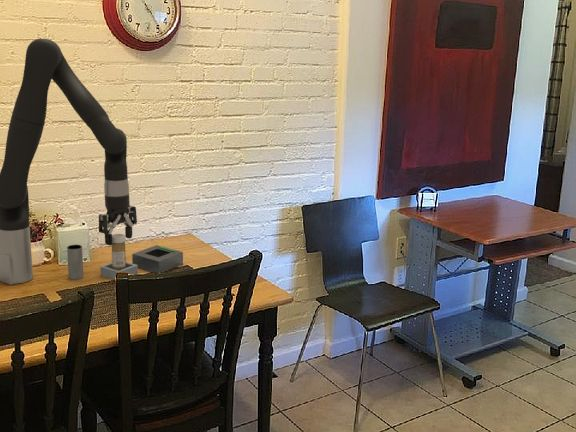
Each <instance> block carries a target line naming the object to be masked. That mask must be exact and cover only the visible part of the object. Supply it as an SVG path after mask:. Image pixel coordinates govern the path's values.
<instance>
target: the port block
mask: <svg viewBox="0 0 576 432" xmlns="http://www.w3.org/2000/svg"><path fill="white" fill-rule="evenodd" d="M131 260H132V264H136V265H138V270H143V271H146V272H150V273H153V274H156V273H159V272H163V271H166V272H169V271H171V270H173V269H176V268H177V267H180V266H182V265H184V252H183V251H180V250H177V249H173V248H170V247H165V246H161V245H158V244H156V245H153V246H150V247H148V248H145V249H142V250H140V251H137V252H134V253H131ZM170 269H171V270H170Z"/></svg>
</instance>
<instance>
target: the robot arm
mask: <svg viewBox="0 0 576 432" xmlns="http://www.w3.org/2000/svg"><path fill="white" fill-rule="evenodd" d="M25 52H26V53H25V59H24V60H25V61H24V69H23V75H22V81H21V86H20V88H19V91H18V94H17V97H16V100H15V103H14V107H13V110H12V112H11V113H12V114H11V116H10V120H9V124H8V131H7V136H6V141H5V152H4V160H3V162H2V163H3V164H2V166H1V169H0V282H2V283H3V284H4V283H5V284H7V285H11V286H12V285H15V284H16V285H17V284H23V283H27V282H29V281H31V280H32V279H34V273H33V272H34V271H33V258H32V256H33V255H32V244H31V227H30V202H29V201H30V200H29V198H30V197H29V187H28V178H29V172H30V169H31V165H32V162H33V160H34V157H35V155H36V152H37V150H38V148H39V144H40V142H41V138H42V135H43V131H44V128H45V123H46V118H47V109H48V93H49V89H50V85H51V81H53V82H54V84H56V85H57V86H58V88H59V89H60V91H62V93H63V95H64V96H65V98H66V100H67V101H68V102H69V104H70V105H71V107H72V108H73V110H74V111H75V113H76V114H77V115H78V117H80V119H81V120H82V122H84V124H85V125H86V126H87V127H88V129H90V130H91V132H92V134H93V136H94V137H95V139H96V141H98V143H99V144H100V145H101V147H102V148H103V149H104V158H105V159H104V166H103V169H104V170H103V171H104V172H103V173H104V184H103V185H104V186H103V189H104V191H103V193H104V206H105V209H106V213H104V214H102V213H100V214H98V232H99V233H101V234H104V243H105V244H106V245H107V246H112V235H113V231H114V229H116V227H117V226H118V225H121V224H123V225H124V226H125V227H124V231H125V233H124V235H125V238H126V239H132V238H133V227H134V226H135V225H137V224H138V219H137V218H138V217H137V208H136V206H134V205H131V204H130V202H131V201H130V186H129V178H128V177H129V176H128V173H129V172H128V163H127V155H128V154H127V150H128V146H127V144H128V143H127V142H128V140H127V136H126V133H125V132H124V131H123V130H122V129H120V128H117V127H116V126H115V125H114V124H113V122H112V121H111V120H110V117H109V115H108V113H107V112H106V110H105V108H104V107H102V105H101V104H100V102H99V101H98V100H97V99H96V98H95V96H93V94H92V93H91V92H90V91H89V90H88V88H87V87H86V86H85V84H83V82H81V80H80V78H79V77H78V76H77V75H76V73H75V72H74V70H73V69H72V67H71V66H70V65H69V62H68V61H67V59H66V57H65V56H64V54H63V52H62V50H61V47H60V46H59V45H58V44H57V43H56V42H55V41H53V40H51V39H49V38H36V39H34V40H33V41H31V42H30V43H29V44H28V46H27V47H26V51H25Z"/></svg>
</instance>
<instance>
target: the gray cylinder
mask: <svg viewBox="0 0 576 432" xmlns="http://www.w3.org/2000/svg"><path fill="white" fill-rule="evenodd" d="M66 248H67V249H66V253H67V271H68V272H67V274H68V279H70V280H74V281H75V280H76V281H77V280H81V279H83V278H84V262H83V259H84V258H83V246H82V245H81V244H70V245H68V246H67V247H66Z"/></svg>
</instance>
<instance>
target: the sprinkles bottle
mask: <svg viewBox="0 0 576 432" xmlns="http://www.w3.org/2000/svg"><path fill="white" fill-rule="evenodd" d="M126 239H127V238H126V236H125V233H115V234H112V245H111V263H112V267H113V269H115V270H118V271H120V270H122V269H125V268H126V262H127V255H126V254H127V253H126Z"/></svg>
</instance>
